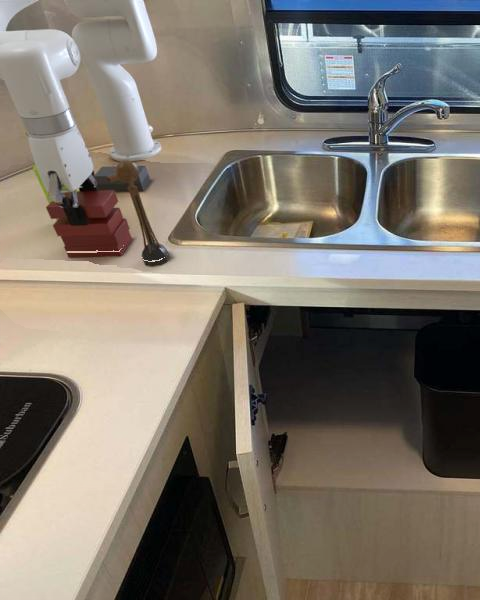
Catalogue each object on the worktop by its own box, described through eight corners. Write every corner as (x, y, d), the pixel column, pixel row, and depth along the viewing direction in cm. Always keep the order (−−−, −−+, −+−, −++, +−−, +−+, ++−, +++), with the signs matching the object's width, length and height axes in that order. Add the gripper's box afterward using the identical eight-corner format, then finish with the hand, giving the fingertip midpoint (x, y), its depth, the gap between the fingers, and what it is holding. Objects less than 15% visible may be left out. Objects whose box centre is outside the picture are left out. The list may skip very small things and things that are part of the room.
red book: (50, 218, 101) (45, 207, 99) (65, 202, 106) (60, 191, 104) (106, 217, 101) (101, 205, 99) (118, 201, 106) (114, 190, 104)
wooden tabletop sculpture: (147, 272, 102) (111, 171, 90) (133, 263, 104) (96, 164, 92) (175, 257, 106) (143, 159, 93) (160, 249, 108) (128, 152, 95)
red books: (67, 257, 106) (52, 225, 102) (81, 240, 111) (67, 208, 106) (122, 256, 106) (110, 223, 102) (133, 239, 111) (122, 207, 107)
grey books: (97, 192, 127) (91, 176, 125) (106, 181, 132) (100, 166, 129) (143, 191, 128) (138, 175, 125) (151, 180, 132) (146, 165, 129)
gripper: (50, 104, 100) (86, 194, 111) (-1, 142, 86) (46, 240, 97) (92, 103, 100) (124, 193, 111) (47, 141, 86) (89, 239, 97)
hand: (87, 214), depth 104 cm, fingers closed on red book, 6 cm apart
